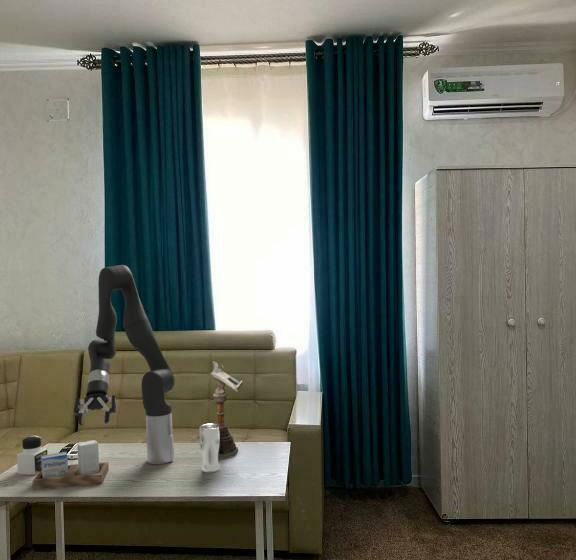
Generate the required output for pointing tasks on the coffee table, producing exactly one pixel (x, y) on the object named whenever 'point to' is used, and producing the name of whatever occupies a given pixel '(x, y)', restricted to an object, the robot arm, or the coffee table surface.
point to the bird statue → (226, 440)
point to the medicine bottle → (31, 456)
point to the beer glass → (209, 447)
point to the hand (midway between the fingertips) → (93, 423)
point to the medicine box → (54, 465)
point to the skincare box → (88, 457)
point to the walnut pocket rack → (71, 478)
